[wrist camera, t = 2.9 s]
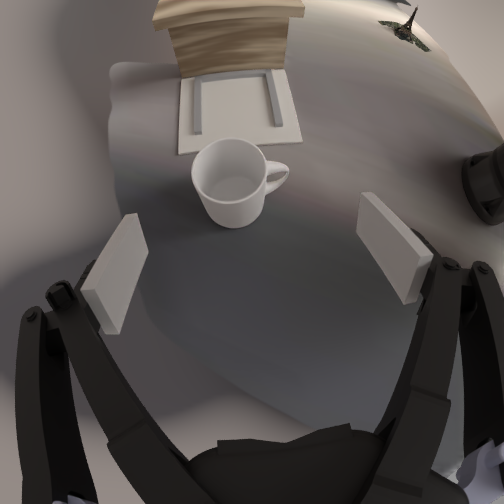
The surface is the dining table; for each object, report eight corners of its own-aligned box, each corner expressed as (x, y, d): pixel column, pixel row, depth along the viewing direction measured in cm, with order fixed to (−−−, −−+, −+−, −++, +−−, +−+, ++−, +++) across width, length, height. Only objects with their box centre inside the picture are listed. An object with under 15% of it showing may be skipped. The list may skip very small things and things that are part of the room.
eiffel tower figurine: (431, 53, 50) (449, 23, 37) (411, 53, 49) (429, 20, 36) (398, 23, 53) (411, -7, 39) (376, 22, 52) (388, -11, 39)
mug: (293, 215, 40) (306, 186, 30) (212, 236, 40) (198, 213, 29) (276, 165, 42) (282, 125, 31) (200, 183, 41) (185, 147, 31)
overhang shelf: (290, 95, 44) (305, 7, 25) (180, 105, 44) (152, 20, 25) (281, 62, 46) (290, -18, 27) (182, 71, 46) (161, -6, 26)
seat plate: (302, 143, 42) (303, 138, 41) (179, 155, 42) (176, 150, 41) (284, 71, 46) (284, 66, 44) (182, 81, 45) (180, 76, 44)
